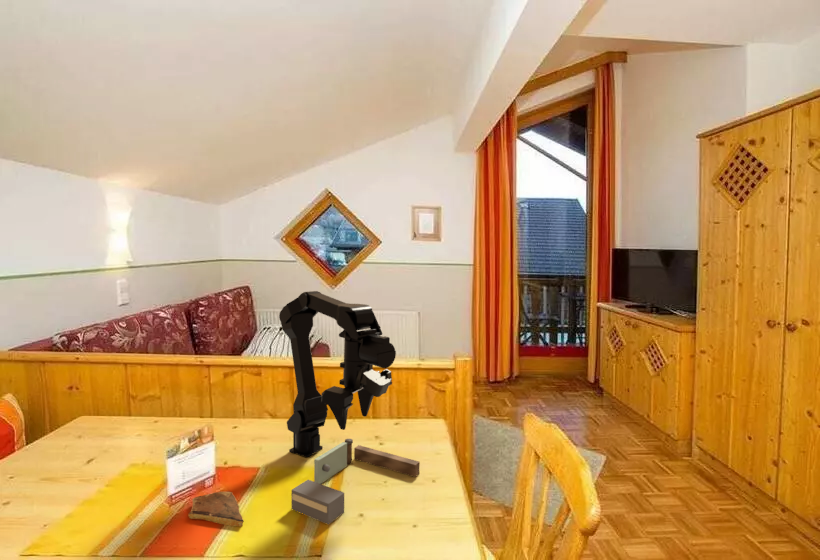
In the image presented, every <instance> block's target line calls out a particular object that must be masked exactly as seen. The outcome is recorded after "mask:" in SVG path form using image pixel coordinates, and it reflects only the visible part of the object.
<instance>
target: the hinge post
mask: <svg viewBox="0 0 820 560" xmlns="http://www.w3.org/2000/svg"><path fill="white" fill-rule="evenodd" d="M353 441H354V440H353V439H352V438H345V439H344V442H346V443H347V466H348V465H351V464H353V463H352V462H353V461H352V460H353V459H352V455H353Z"/></svg>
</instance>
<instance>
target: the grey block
mask: <svg viewBox="0 0 820 560" xmlns="http://www.w3.org/2000/svg"><path fill="white" fill-rule="evenodd" d="M292 509H293V510H292ZM291 510H292V511H294V510H295V512H297V511H298V512H297V513H299V512H300V513H299V514H302V513H303V514H302V515H304V514H305V515H304V516H306V515H307V517H308V518H309V517H310V518H312V519H314V520H316V521H319V522H321V523H323V524H326V525H328V526H329V525H330V524H331V523H333V522H334V521H335V520H337V519H339V517H340V516H342V515H343V514H344V513H345V492H344V491H341V490H338V489H335V488H333V487H330V486H327V485H324V484H323V483H321V484H319V483H316V482H314V481H313V480H310V479H307V480H305V481H303V482H302V483H300V484H299V485H297V486H296V487H294V488H293V489H291Z"/></svg>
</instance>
